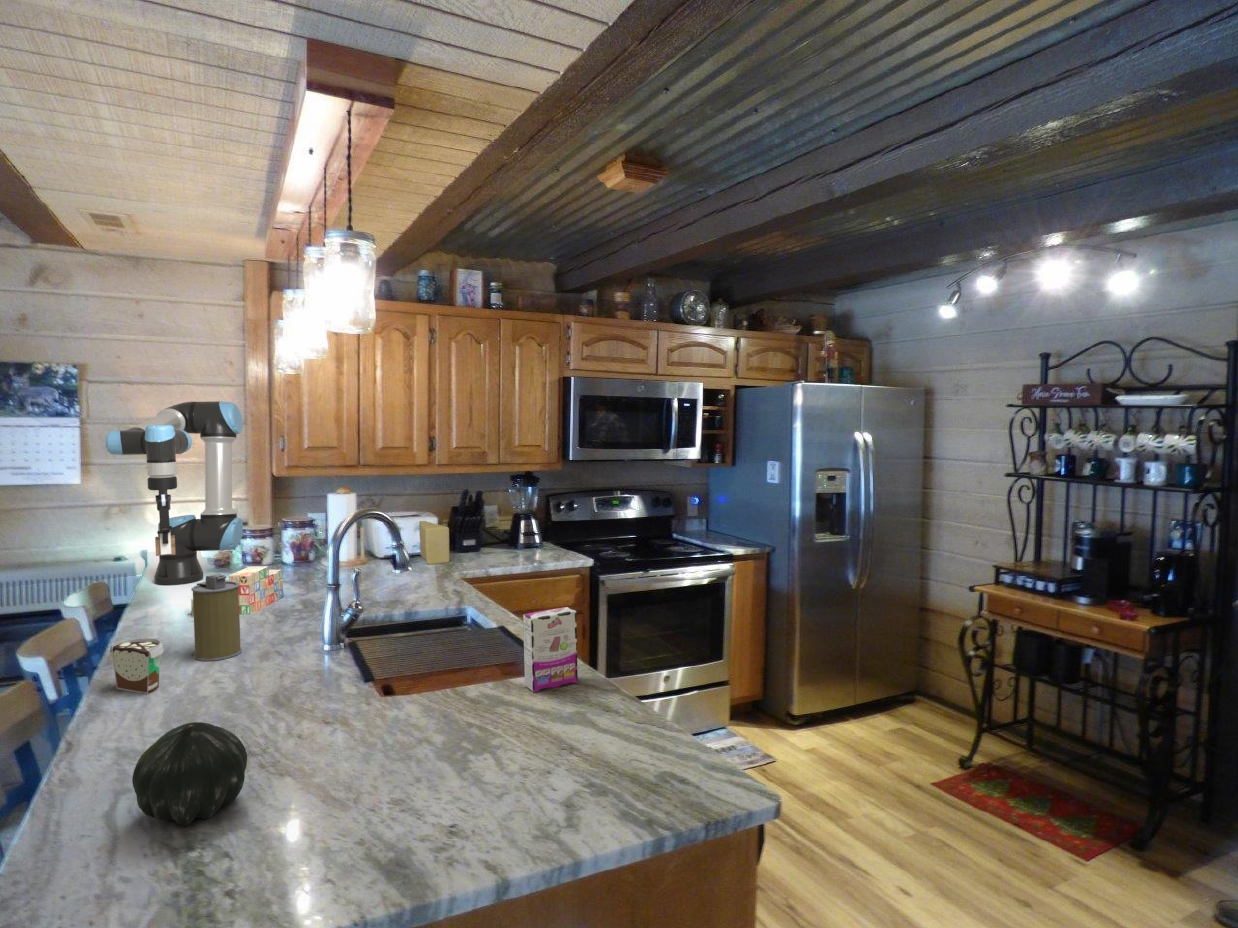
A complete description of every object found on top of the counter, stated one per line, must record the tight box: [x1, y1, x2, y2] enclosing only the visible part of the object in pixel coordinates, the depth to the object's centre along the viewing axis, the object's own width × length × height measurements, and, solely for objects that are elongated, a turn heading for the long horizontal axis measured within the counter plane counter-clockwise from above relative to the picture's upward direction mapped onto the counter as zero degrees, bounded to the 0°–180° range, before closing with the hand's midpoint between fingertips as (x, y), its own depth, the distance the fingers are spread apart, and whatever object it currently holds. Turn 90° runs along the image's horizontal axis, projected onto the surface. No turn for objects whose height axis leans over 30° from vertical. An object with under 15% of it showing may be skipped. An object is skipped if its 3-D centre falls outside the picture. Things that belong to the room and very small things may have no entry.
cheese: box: [418, 520, 450, 565], centre depth 302 cm, size 22×10×15 cm, turn 32°
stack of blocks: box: [228, 565, 284, 616], centre depth 229 cm, size 21×6×12 cm, turn 0°
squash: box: [131, 721, 248, 826], centre depth 110 cm, size 14×15×15 cm
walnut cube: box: [154, 535, 175, 557], centre depth 221 cm, size 5×5×5 cm
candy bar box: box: [522, 606, 579, 693], centre depth 161 cm, size 11×5×16 cm, turn 122°
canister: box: [190, 573, 243, 662], centre depth 181 cm, size 11×10×20 cm
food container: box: [109, 637, 165, 695], centre depth 160 cm, size 12×6×10 cm, turn 71°
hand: (165, 552), depth 221 cm, fingers closed on walnut cube, 5 cm apart
